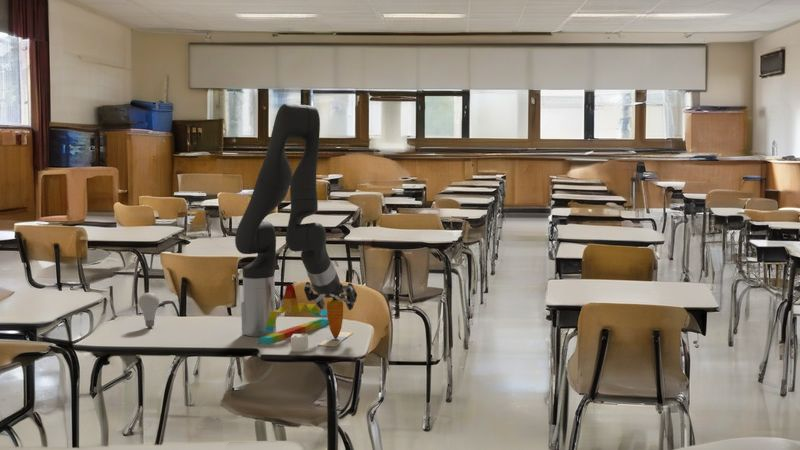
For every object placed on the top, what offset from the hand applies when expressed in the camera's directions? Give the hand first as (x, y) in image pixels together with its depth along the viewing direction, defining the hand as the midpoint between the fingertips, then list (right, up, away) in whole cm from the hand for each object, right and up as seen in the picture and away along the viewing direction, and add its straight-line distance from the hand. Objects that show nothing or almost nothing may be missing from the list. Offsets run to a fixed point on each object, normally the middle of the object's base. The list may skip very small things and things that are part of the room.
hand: (336, 307), depth 269 cm
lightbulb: (-59, -8, +19) cm, 62 cm away
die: (-9, -11, -11) cm, 18 cm away
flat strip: (0, -9, 0) cm, 9 cm away
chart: (-13, -9, +9) cm, 18 cm away
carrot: (0, -9, 0) cm, 9 cm away
